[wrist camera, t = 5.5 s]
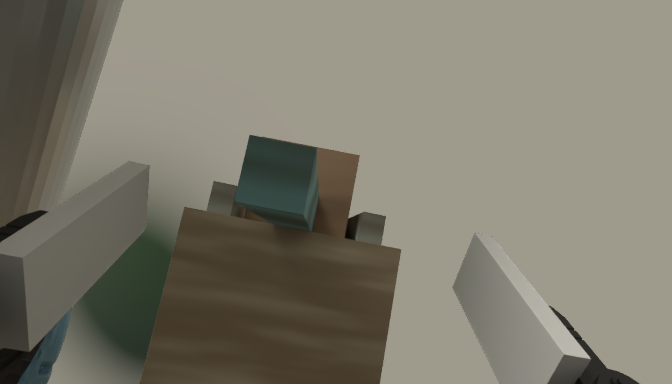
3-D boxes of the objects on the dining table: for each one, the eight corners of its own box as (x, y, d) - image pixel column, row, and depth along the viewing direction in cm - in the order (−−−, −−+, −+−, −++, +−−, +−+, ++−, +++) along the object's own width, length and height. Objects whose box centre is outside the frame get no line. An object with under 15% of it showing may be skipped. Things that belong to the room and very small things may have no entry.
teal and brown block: (365, 226, 14) (392, 71, 15) (172, 189, 14) (211, 36, 15) (339, 242, 34) (351, 174, 35) (259, 226, 34) (274, 159, 35)
